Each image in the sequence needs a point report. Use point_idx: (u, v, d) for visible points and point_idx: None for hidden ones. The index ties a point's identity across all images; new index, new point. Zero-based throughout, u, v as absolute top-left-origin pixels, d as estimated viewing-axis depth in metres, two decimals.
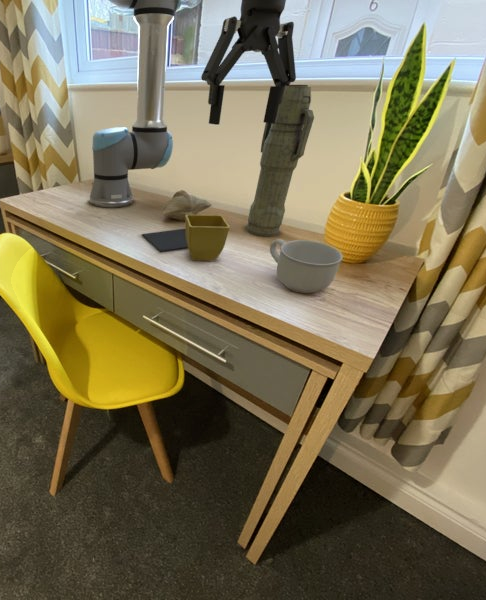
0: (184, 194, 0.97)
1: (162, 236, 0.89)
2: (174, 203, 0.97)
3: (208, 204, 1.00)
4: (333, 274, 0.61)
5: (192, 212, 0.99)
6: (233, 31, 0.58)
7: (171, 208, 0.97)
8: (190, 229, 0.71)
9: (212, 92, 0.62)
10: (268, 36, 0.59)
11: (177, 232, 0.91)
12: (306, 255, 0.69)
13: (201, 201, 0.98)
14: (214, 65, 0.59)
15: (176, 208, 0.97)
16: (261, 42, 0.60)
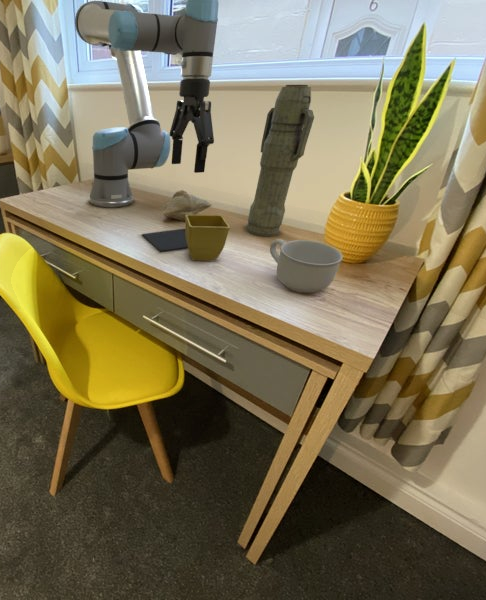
0: (184, 194, 0.97)
1: (162, 236, 0.89)
2: (174, 203, 0.97)
3: (208, 204, 1.00)
4: (333, 274, 0.61)
5: (192, 212, 0.99)
6: (177, 109, 0.91)
7: (171, 208, 0.97)
8: (190, 229, 0.71)
9: None
10: (188, 111, 0.85)
11: (177, 232, 0.91)
12: (306, 255, 0.69)
13: (201, 201, 0.98)
14: (171, 128, 0.96)
15: (176, 208, 0.97)
16: (188, 115, 0.87)
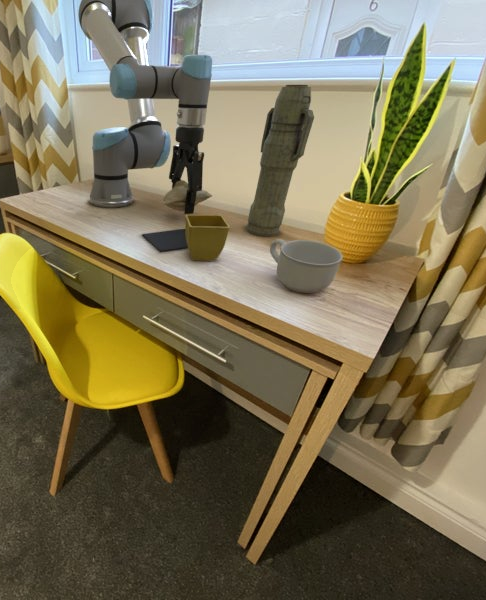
0: (184, 184, 0.96)
1: (162, 236, 0.89)
2: (174, 193, 0.96)
3: (208, 195, 0.99)
4: (333, 274, 0.61)
5: None
6: (174, 152, 0.97)
7: (171, 198, 0.96)
8: (190, 229, 0.71)
9: None
10: (183, 155, 0.92)
11: (177, 232, 0.91)
12: (306, 255, 0.69)
13: (201, 191, 0.97)
14: (170, 171, 1.01)
15: (176, 199, 0.96)
16: (184, 158, 0.93)
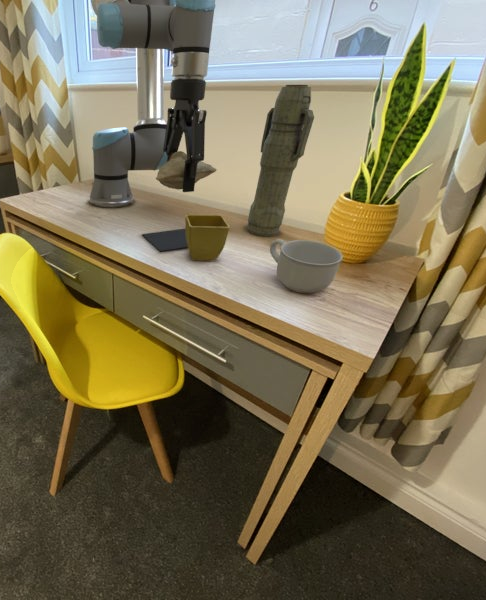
0: (182, 155, 0.78)
1: (162, 236, 0.89)
2: (169, 166, 0.78)
3: (212, 168, 0.80)
4: (333, 274, 0.61)
5: None
6: (169, 117, 0.79)
7: (166, 172, 0.77)
8: (190, 229, 0.71)
9: None
10: (180, 116, 0.73)
11: (177, 232, 0.91)
12: (306, 255, 0.69)
13: (203, 164, 0.79)
14: (164, 142, 0.83)
15: (172, 173, 0.77)
16: (181, 121, 0.74)
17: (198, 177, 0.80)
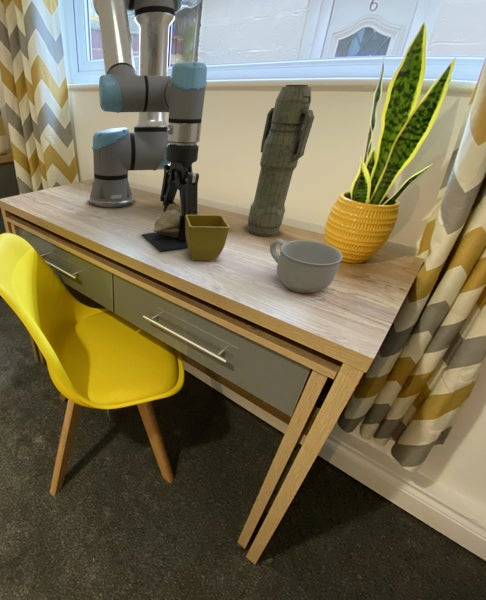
0: (177, 208, 0.84)
1: (162, 236, 0.89)
2: (165, 218, 0.84)
3: None
4: (333, 274, 0.61)
5: None
6: (165, 172, 0.85)
7: (163, 224, 0.84)
8: (190, 229, 0.71)
9: None
10: (175, 176, 0.80)
11: None
12: (306, 255, 0.69)
13: None
14: (161, 193, 0.90)
15: (168, 225, 0.83)
16: (176, 179, 0.81)
17: None
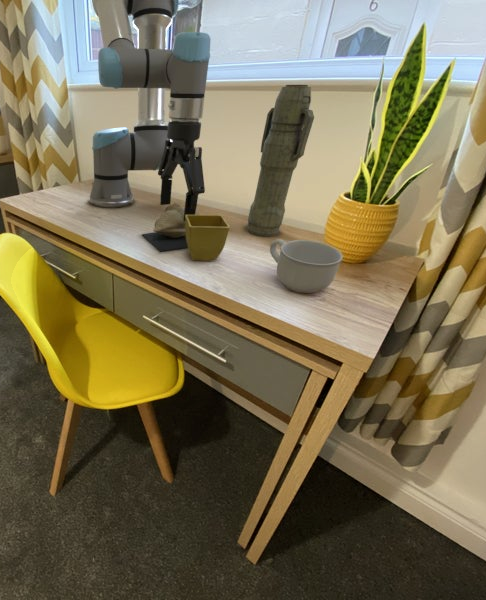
0: (177, 208, 0.84)
1: (162, 236, 0.89)
2: (165, 218, 0.84)
3: None
4: (333, 274, 0.61)
5: None
6: (166, 148, 0.83)
7: (163, 224, 0.84)
8: (190, 229, 0.71)
9: None
10: (176, 155, 0.77)
11: None
12: (306, 255, 0.69)
13: None
14: (160, 167, 0.88)
15: (168, 225, 0.83)
16: (177, 158, 0.79)
17: None
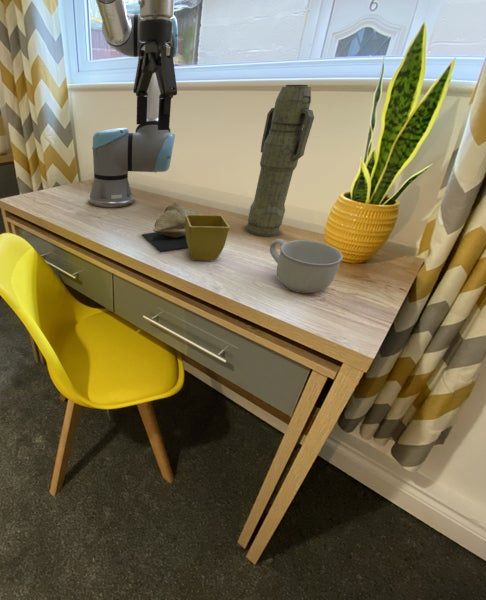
0: (177, 208, 0.84)
1: (162, 236, 0.89)
2: (165, 218, 0.84)
3: None
4: (333, 274, 0.61)
5: None
6: (139, 59, 0.82)
7: (163, 224, 0.84)
8: (190, 229, 0.71)
9: None
10: (149, 59, 0.76)
11: None
12: (306, 255, 0.69)
13: None
14: (135, 83, 0.87)
15: (168, 225, 0.83)
16: (150, 64, 0.78)
17: None
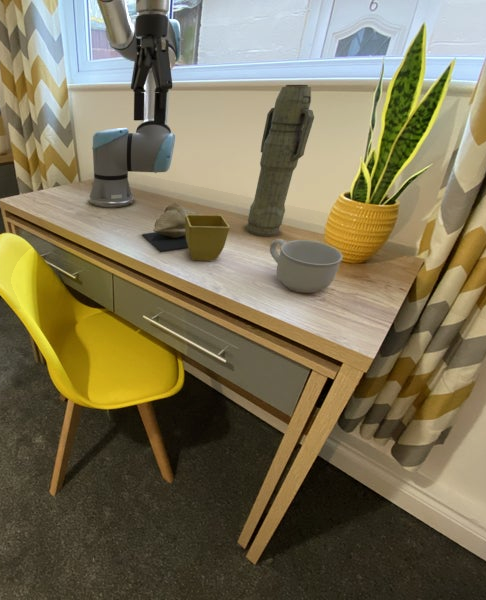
0: (177, 208, 0.84)
1: (162, 236, 0.89)
2: (165, 218, 0.84)
3: None
4: (333, 274, 0.61)
5: None
6: (136, 55, 0.82)
7: (163, 224, 0.84)
8: (190, 229, 0.71)
9: None
10: (145, 54, 0.77)
11: None
12: (306, 255, 0.69)
13: None
14: (132, 79, 0.87)
15: (168, 225, 0.83)
16: (146, 59, 0.78)
17: None
